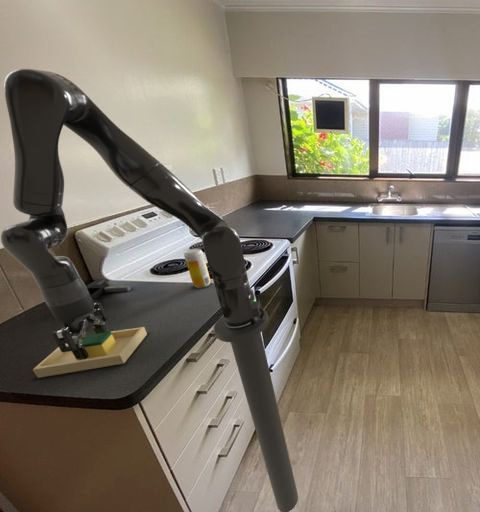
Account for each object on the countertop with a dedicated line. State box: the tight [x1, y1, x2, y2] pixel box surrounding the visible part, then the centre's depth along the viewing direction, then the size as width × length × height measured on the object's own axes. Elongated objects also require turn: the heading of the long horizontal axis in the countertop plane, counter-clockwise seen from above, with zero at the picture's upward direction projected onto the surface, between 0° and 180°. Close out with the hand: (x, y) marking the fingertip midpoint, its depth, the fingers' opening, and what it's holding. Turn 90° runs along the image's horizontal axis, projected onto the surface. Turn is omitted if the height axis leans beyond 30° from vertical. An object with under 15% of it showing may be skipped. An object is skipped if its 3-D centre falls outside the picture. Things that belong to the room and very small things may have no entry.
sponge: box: [72, 331, 116, 360], centre depth 79 cm, size 7×5×4 cm, turn 104°
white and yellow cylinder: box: [183, 247, 212, 289], centre depth 113 cm, size 6×6×15 cm
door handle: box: [85, 278, 132, 303], centre depth 108 cm, size 3×20×16 cm
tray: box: [32, 326, 148, 379], centre depth 79 cm, size 19×13×3 cm
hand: (94, 347), depth 79 cm, fingers open, 8 cm apart
